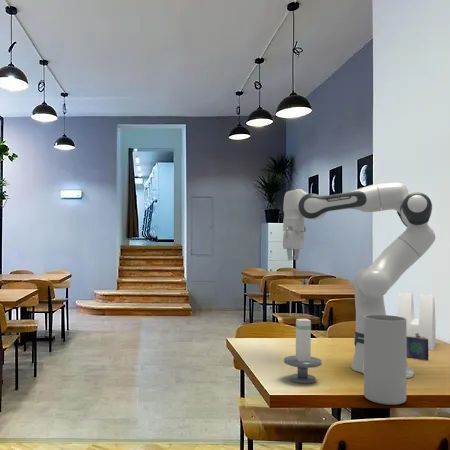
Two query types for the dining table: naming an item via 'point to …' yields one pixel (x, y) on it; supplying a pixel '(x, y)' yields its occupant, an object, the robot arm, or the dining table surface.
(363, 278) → the robot arm
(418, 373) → the dining table surface
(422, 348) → the flask
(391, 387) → the cylinder vase
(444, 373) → the dining table surface
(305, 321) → the column
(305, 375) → the pedestal
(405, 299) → the white u-shaped block
